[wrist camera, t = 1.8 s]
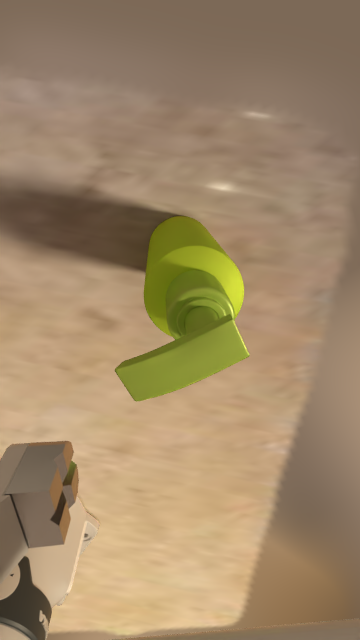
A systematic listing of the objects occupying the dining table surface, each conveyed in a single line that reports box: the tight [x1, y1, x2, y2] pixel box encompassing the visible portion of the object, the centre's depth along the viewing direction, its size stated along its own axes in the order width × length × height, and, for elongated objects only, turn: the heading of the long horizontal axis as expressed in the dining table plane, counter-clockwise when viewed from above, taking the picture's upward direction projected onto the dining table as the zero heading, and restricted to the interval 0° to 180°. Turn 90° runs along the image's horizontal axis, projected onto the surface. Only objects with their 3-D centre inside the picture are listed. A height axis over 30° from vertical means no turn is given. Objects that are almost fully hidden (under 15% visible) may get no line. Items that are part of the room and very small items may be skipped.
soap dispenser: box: [115, 216, 250, 401], centre depth 23 cm, size 6×7×20 cm
